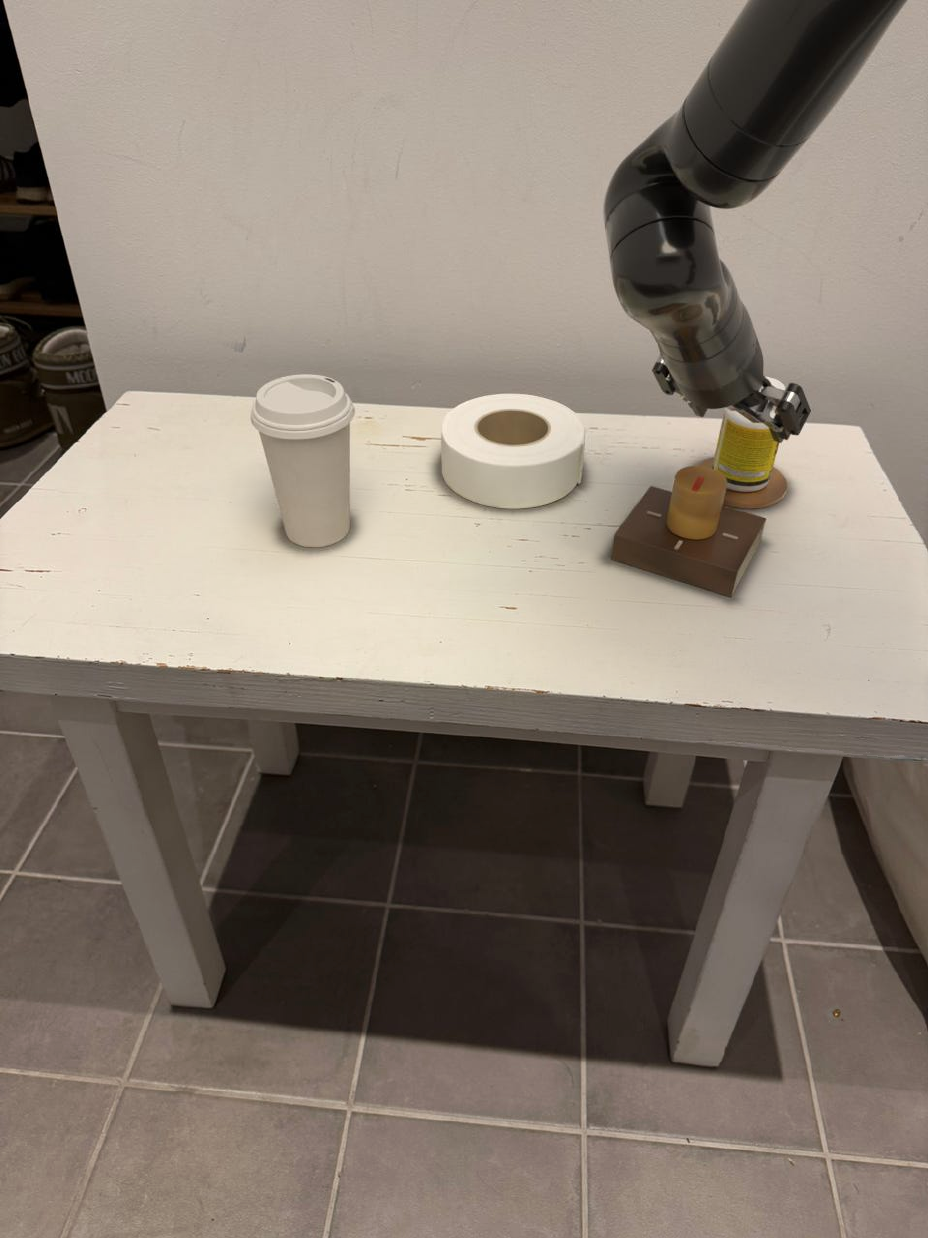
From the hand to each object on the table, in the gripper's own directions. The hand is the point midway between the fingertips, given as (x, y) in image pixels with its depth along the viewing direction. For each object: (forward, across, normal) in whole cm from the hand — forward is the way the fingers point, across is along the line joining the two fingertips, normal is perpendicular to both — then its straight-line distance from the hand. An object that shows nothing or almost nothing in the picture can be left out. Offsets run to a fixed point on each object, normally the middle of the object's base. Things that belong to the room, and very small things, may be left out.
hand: (742, 420), depth 87 cm
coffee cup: (-16, +29, +29) cm, 44 cm away
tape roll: (-1, +21, +14) cm, 25 cm away
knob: (-4, -2, +12) cm, 13 cm away
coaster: (+9, 0, +4) cm, 10 cm away
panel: (-2, -2, +14) cm, 15 cm away
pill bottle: (+9, 0, +4) cm, 9 cm away
